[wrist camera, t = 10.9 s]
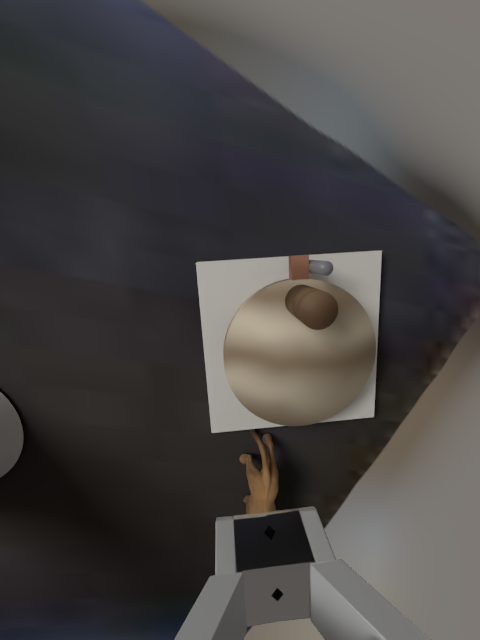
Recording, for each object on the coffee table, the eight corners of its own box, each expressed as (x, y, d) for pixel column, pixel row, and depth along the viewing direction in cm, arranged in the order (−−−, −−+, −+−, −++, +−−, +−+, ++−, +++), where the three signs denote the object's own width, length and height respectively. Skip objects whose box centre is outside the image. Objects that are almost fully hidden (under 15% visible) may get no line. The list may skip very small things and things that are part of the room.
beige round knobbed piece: (217, 259, 27) (216, 261, 21) (373, 251, 28) (418, 250, 22) (227, 423, 31) (230, 467, 25) (364, 412, 32) (401, 451, 26)
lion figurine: (287, 515, 38) (308, 592, 30) (247, 525, 38) (257, 605, 29) (268, 417, 35) (286, 471, 26) (225, 426, 35) (227, 484, 26)
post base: (211, 425, 35) (210, 471, 27) (196, 262, 30) (190, 264, 23) (367, 410, 36) (406, 450, 28) (374, 250, 32) (421, 249, 24)
